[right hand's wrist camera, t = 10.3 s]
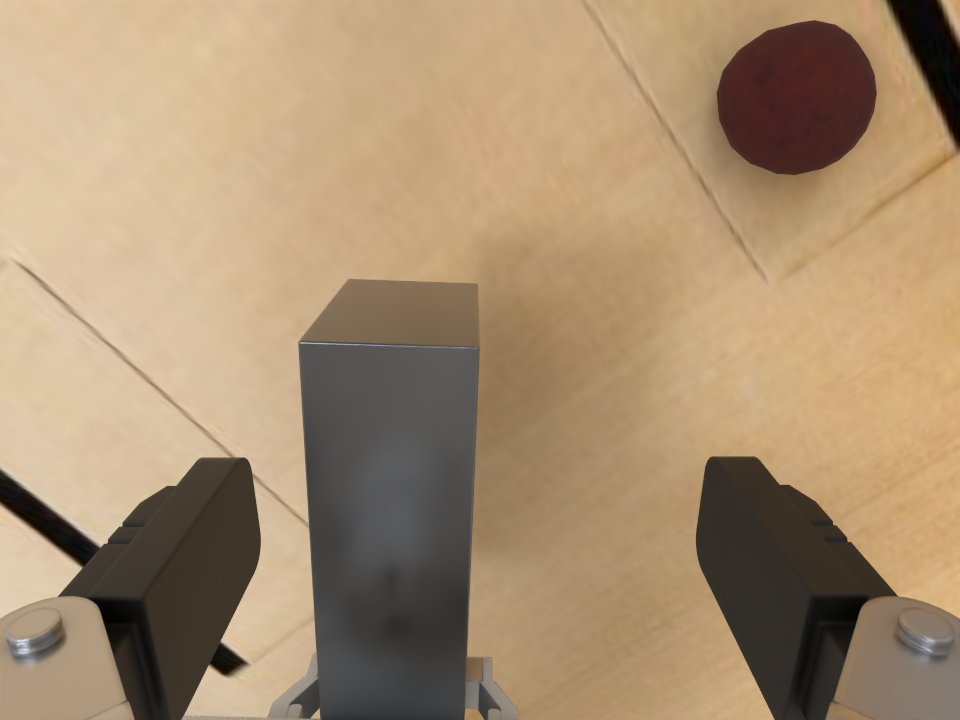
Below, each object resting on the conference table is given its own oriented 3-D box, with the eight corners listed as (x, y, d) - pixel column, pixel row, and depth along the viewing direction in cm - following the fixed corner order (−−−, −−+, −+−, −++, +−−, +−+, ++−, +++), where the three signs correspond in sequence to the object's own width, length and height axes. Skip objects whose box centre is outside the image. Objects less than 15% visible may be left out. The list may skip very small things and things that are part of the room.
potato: (788, 188, 39) (851, 202, 32) (675, 135, 38) (715, 138, 31) (859, 65, 37) (942, 53, 30) (740, 4, 36) (799, -23, 29)
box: (347, 278, 31) (297, 341, 22) (477, 283, 31) (479, 347, 22) (359, 650, 38) (325, 808, 30) (463, 653, 39) (460, 810, 30)
